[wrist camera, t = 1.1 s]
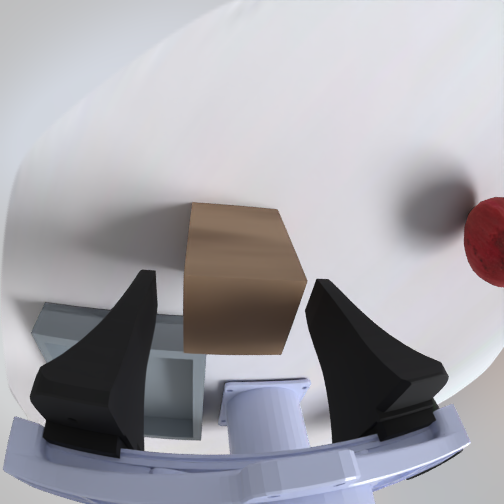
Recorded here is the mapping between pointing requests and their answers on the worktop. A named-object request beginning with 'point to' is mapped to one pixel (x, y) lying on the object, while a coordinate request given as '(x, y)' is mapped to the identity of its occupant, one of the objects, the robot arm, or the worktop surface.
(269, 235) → the block
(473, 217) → the pomegranate
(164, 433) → the tray
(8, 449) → the robot arm
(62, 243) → the worktop surface
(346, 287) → the worktop surface
